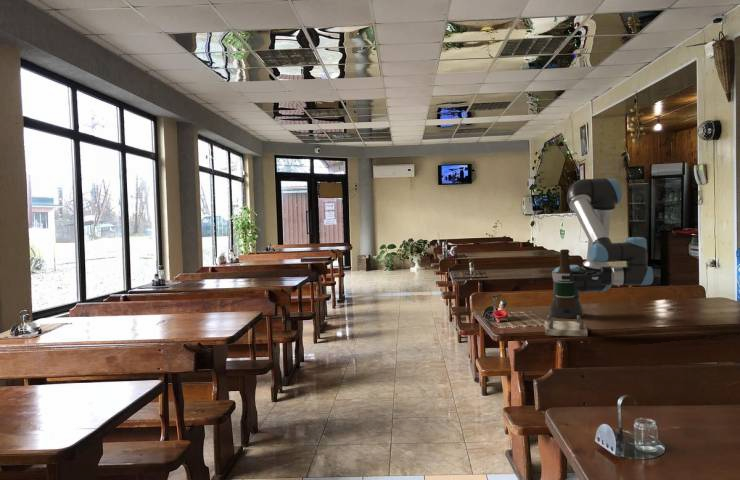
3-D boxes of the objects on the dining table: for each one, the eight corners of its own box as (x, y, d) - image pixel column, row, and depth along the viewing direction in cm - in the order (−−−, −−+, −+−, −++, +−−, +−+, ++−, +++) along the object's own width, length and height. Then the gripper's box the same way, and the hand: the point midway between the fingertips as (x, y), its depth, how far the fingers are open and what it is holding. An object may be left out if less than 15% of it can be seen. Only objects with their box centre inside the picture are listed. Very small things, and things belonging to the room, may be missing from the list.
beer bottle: (574, 305, 246) (574, 248, 244) (575, 308, 239) (574, 250, 237) (555, 304, 249) (555, 248, 247) (555, 308, 241) (554, 250, 240)
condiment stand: (546, 335, 239) (545, 322, 238) (544, 326, 254) (544, 314, 254) (587, 336, 235) (587, 323, 234) (583, 327, 250) (583, 314, 250)
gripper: (614, 289, 229) (553, 288, 234) (607, 281, 248) (551, 281, 254) (614, 270, 228) (553, 270, 234) (607, 263, 248) (551, 264, 253)
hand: (552, 275), depth 244 cm, fingers closed on beer bottle, 7 cm apart
